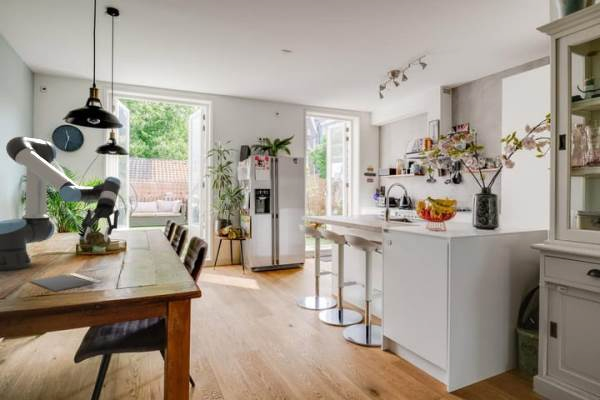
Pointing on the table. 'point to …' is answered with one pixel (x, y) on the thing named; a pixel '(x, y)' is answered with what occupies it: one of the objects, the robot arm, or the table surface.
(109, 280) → the table surface
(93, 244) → the potato
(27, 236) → the robot arm
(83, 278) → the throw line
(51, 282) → the mat
